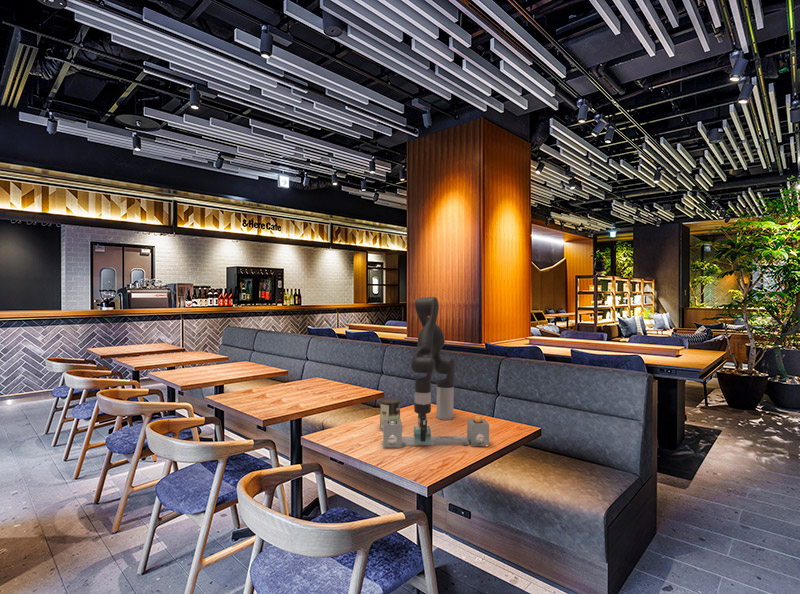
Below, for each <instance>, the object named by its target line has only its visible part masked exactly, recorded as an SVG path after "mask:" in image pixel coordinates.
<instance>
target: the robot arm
mask: <svg viewBox="0 0 800 594" xmlns="http://www.w3.org/2000/svg"><path fill="white" fill-rule="evenodd" d="M414 307H415V308H414V309H415V313H416V315H417V317H418V319H419V321H420V324H421V326H422V329H421V330H420V332H419V334H418V336H417V344H416V349H415V353H414V355H413V358H412V359H411V363H410V367H411V370H412V372H414V373H416V374H417V373H419V374H426V375H424V376H422V377H421V376H420V377H416V378H415V381H414V397H413V398H414V399H413V400H414V402H413V411H414V413H415V414H417V426H419V427H420V433H421V436H420V440H421V442H425V441H426V433H427V426H428V415H427V414H430V413H431V412H432V392H431V384H432V377H433V373H434V371H435V372H436V373H437V374H440V375H446V377H445V378H441V379H438V380H437V381H436V410H435V411H436V415H435V416H436V418H437V419H439V420H444V421H449V420H452V419H454V399H455V398H454V397H455V395H454V391H455V390H454V389H455V387H454V386H455V385H454V383H455V369H456V363H455V359H454V358H453V357H450V356H441V351H442V349H443V347H444V345H445V344H446V343H445V342H446V340H445V335H444V332H443V330H442V328H441V327H440V326H439V325H438V324H437V319H438V316H439V309H440V308H439V301H438V299H437V297H435V296H428V297H426V296H425V297H419V298H416V299H415V302H414ZM428 355H431V357H430V356H429V357H428ZM426 356H427V357H426ZM423 428H425V430H422V429H423Z"/></svg>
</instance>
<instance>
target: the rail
mask: <svg viewBox="0 0 800 594" xmlns="http://www.w3.org/2000/svg"><path fill="white" fill-rule="evenodd" d="M407 446H409V447H412V446H415V447H417V446H419V447H420V446H463V447H469V443H468V438H467V435H447V436H446V435H441V436H440V435H438V436H436V435H435V436H432V435H431V443H425V444H415V437H414V436H402V448H406V447H407Z"/></svg>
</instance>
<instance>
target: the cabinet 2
mask: <svg viewBox="0 0 800 594" xmlns="http://www.w3.org/2000/svg"><path fill="white" fill-rule="evenodd" d="M466 420H467V421H466V425H467V426H466V436H467V438H468V442H469V443H468V445H471V446H486V445H489V446H490V423H489V422H488V421H487V420H486V419H485V418H481V423H475V418H467V419H466ZM471 446H470V447H471Z"/></svg>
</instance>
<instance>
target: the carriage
mask: <svg viewBox="0 0 800 594" xmlns="http://www.w3.org/2000/svg"><path fill="white" fill-rule="evenodd" d="M422 430H425V428H423V429H422ZM431 433H432V429H431V427H430V425H427V433H426V441H425V442H421V440H420V436H421V433H420V427H419V425H416V426H415V425H414V426H413V437H415V444H425V443H431V436H432V434H431Z"/></svg>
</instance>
